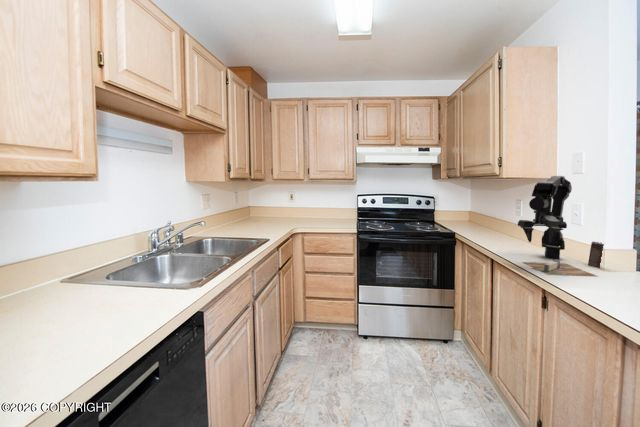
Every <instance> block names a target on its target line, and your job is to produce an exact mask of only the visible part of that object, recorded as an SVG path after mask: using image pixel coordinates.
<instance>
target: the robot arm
mask: <svg viewBox="0 0 640 427" xmlns="http://www.w3.org/2000/svg"><path fill="white" fill-rule="evenodd" d="M572 190H573V189H572V184H571V182H570V181H569V180H568V179H566V177H565V176H563V175H551V177H550V178H549V179H547V180H546V181H538V182H536V184H535V185H534V187H533V190H532V193H531V197H533V198H531V199H530V201H529V203H528V205H529V208H530V209H532V210H533V214H535V216H534V218H533V219H532V220H529V219H519V220H518V221H517V226H518V227H520V228H521V229H522V230H523V232H524V234H525V236H526V238H527V241H528V243H531V242H532V239H533V231H534V230H535V229H534V228H533V227H546V228H547V229H545V230H544V231H543V235H542V236H541V248H545V250H544V257H545V258H547V259H552V260H553V259H557V260H560V258H561V257H560V256H561V251H564V250H565V248H566V245H565V240H564V235H563V233H562V231H563V230H564V229H567V228H568V226H567V225H568V224H567V222H566V221H564V217H563V212H564V204H565V201H566V200H568V198H569V196H570V193H571V192H572Z"/></svg>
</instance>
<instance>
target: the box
mask: <svg viewBox="0 0 640 427" xmlns="http://www.w3.org/2000/svg"><path fill="white" fill-rule="evenodd" d="M602 243H603V242H600V243H599V241H592V242H591V244H590V249H589V257H588V263H587V267H588V266H589V267H594V268H597V269H600V268H601V265H600V263H601V264H602V259H601V257H602V258H603V253H602V251H603V252H604V247H603V246H604V245H605V243H604V244H602Z"/></svg>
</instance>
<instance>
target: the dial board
mask: <svg viewBox="0 0 640 427" xmlns="http://www.w3.org/2000/svg"><path fill="white" fill-rule="evenodd" d="M521 263H523V264H525V265H527V266H529V267H531V269H533V270H535V271H539V272H542V273H544V274H545V275H548V276H563V277H565V276H569V277H570V276H571V277H597V278H599V275H596V274H594V273H591V272H589V271H586V270H583V269H581V268H577V267H576V266H573V265H571V264H568V263H565V262H560V268H556V269H553V270H551V271H544V266H545V264H547V263H548V262H540V261H539V262H536V261H535V262H534V261H522V262H521Z"/></svg>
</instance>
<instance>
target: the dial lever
mask: <svg viewBox="0 0 640 427" xmlns="http://www.w3.org/2000/svg"><path fill="white" fill-rule="evenodd" d="M546 263H547V264H545V266H544V271H551V270H553V269H556V268H560V263H561V260H560V259H552V261H550V262H546Z"/></svg>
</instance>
